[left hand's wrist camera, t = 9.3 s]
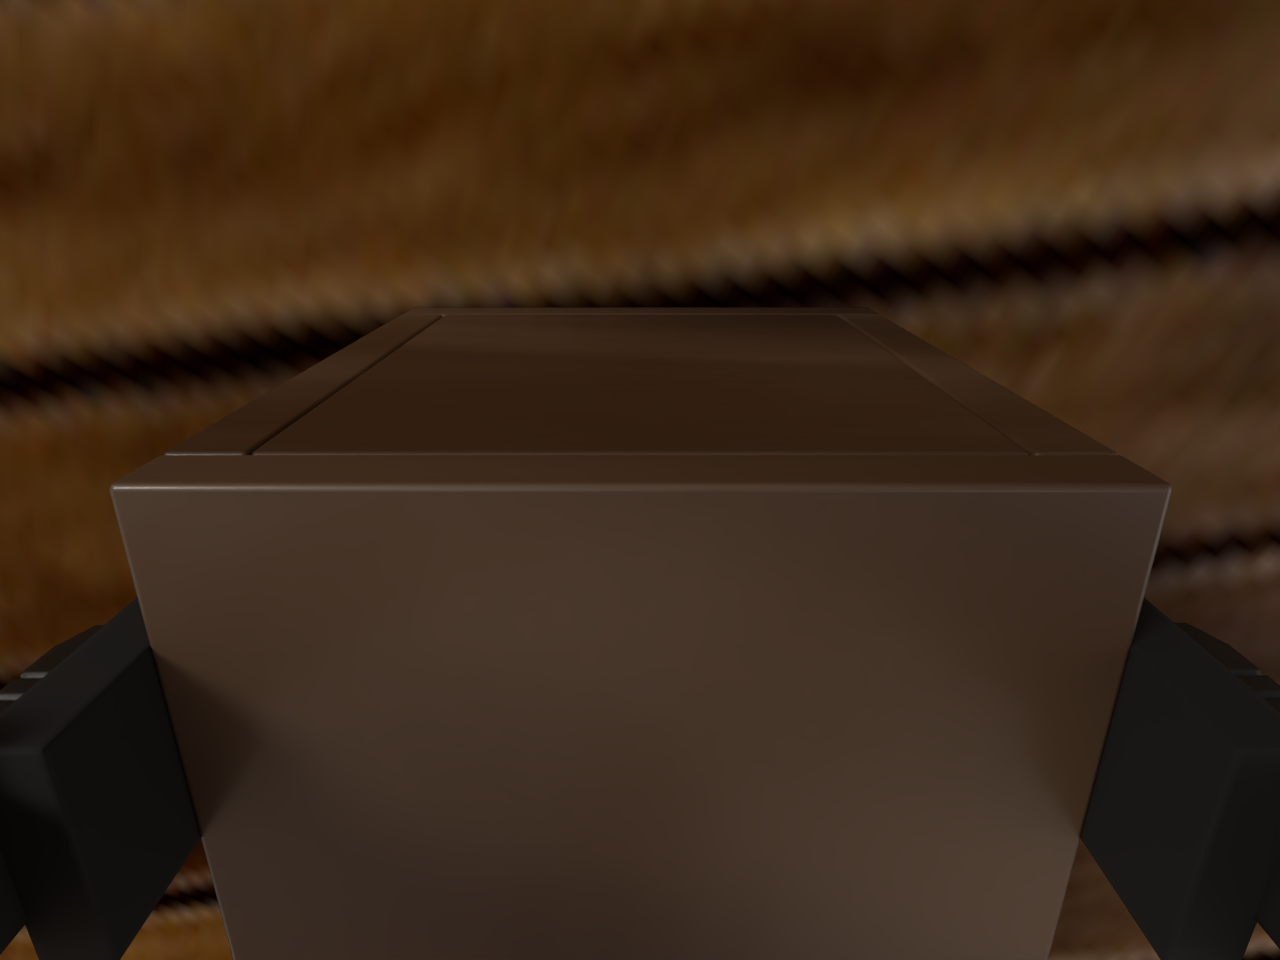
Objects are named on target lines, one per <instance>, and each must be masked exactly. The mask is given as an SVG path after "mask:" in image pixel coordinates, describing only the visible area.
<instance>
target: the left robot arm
mask: <svg viewBox="0 0 1280 960" xmlns="http://www.w3.org/2000/svg"><path fill="white" fill-rule="evenodd" d="M200 838H201V835H200V831H199V827H198V824H197V820H196V816H195V812H194V809H193V805H192V801H191V797H190V793H189V790H188V786H187V782H186V778H185V775H184V771H183V767H182V763H181V759H180V756H179V752H178V748H177V744H176V740H175V737H174V733H173V729H172V725H171V722H170V718H169V714H168V710H167V706H166V703H165V699H164V695H163V691H162V688H161V684H160V680H159V676H158V672H157V669H156V665H155V661H154V657H153V653H152V650H151V646H150V642H149V638H148V635H147V631H146V627H145V623H144V619H143V616H142V612H141V608H140V604H139V601H138V597H137V598H136V599H135V600H134V601H132V602H131V603H130V604H129V605H128V606H127V607H125V608H124V609H123V610H122V611H121V612H119V613H118V614H117V615H116V616H115V617H114V618H112V619H111V620H110V621H109V622H108V623H106V624H105V625H104V626H94V627H92V628H90V629H88V630H86V631H84V632H82V633H80V634H78V635H76V636H74V637H73V638H71V639H69V640H67V641H65V642H63V643H61V644H59V645H57V646H55V647H53V648H52V649H51V650H49V651H48V652H47V653H46V654H44V655H43V656H42V657H41V658H40V659H38V660H37V661H36V662H35V663H33V664H32V665H31V666H30V667H28V668H27V669H26V670H25V671H24V672H22V673H21V678H20V679H14V680H12V681H11V682H10V683H9V684H7V685H6V686H5V687H4V688H3V689H1V690H0V954H1V953H2V952H3V951H4V949H5V948H6V947H7V946H8V945H9V943H10V942H11V941H12V940H13V938H14V937H15V936H16V935H17V934H18V932H19V931H20V930H21V929H22V927H23V926H24V925H26V928H27V930H28V933H29V935H30V938H31V940H32V943H33V945H34V948H35V950H36V953H37V955H38V958H39V960H120V959H121V957H122V956H123V954H124V953H125V951H126V950H127V948H128V947H129V945H130V944H131V942H132V941H133V939H134V938H135V936H136V935H137V933H138V932H139V930H140V929H141V927H142V926H143V924H144V923H145V921H146V920H147V918H148V916H149V915H150V913H151V912H152V910H153V909H154V907H155V906H156V904H157V903H158V901H159V900H160V898H161V897H162V895H163V894H164V892H165V891H166V889H167V888H168V886H169V885H170V883H171V882H172V880H173V879H174V877H175V876H176V874H177V872H178V871H179V869H180V868H181V866H182V865H183V863H184V862H185V860H186V859H187V857H188V856H189V854H190V853H191V851H192V850H193V848H194V847H195V845H196V844H197V842H198V841H199V839H200ZM1080 838H1081V839H1082V841H1083V842H1084V844H1085V845H1086V847H1087V848H1088V850H1089V851H1090V853H1091V854H1092V856H1093V858H1094V859H1095V861H1096V862H1097V864H1098V865H1099V867H1100V868H1101V870H1102V871H1103V873H1104V874H1105V876H1106V877H1107V879H1108V880H1109V882H1110V883H1111V885H1112V886H1113V888H1114V889H1115V891H1116V892H1117V894H1118V895H1119V897H1120V898H1121V900H1122V901H1123V903H1124V905H1125V906H1126V908H1127V909H1128V911H1129V912H1130V914H1131V915H1132V917H1133V918H1134V920H1135V921H1136V923H1137V924H1138V926H1139V927H1140V929H1141V930H1142V932H1143V933H1144V935H1145V936H1146V938H1147V939H1148V941H1149V942H1150V944H1151V945H1152V947H1153V948H1154V950H1155V952H1156V953H1157V955H1158V956H1159V958H1160V959H1161V960H1242V958H1243V956H1244V953H1245V951H1246V948H1247V946H1248V943H1249V941H1250V938H1251V936H1252V933H1253V931H1254V928H1255V926H1256V923H1257V922H1258V923H1259V924H1260V926H1261V927H1262V928H1263V929H1264V930H1265V932H1266V933H1267V934H1268V935H1269V937H1270V938H1271V939H1272V940H1273V941H1274V943H1275V944H1276V945H1277V946H1278V947H1279V949H1280V686H1279V685H1278V684H1277V683H1276V682H1274V681H1273V680H1272V679H1271V678H1269V677H1268V676H1262V675H1261V670H1260V669H1258V668H1257V667H1256V666H1255V665H1253V664H1252V663H1251V662H1250V661H1248V660H1247V659H1246V658H1245V657H1243V656H1242V655H1241V654H1240V653H1238V652H1237V651H1236V650H1235V649H1233V648H1232V647H1231V646H1230V645H1228V644H1226V643H1224V642H1222V641H1220V640H1218V639H1216V638H1215V637H1213V636H1211V635H1209V634H1207V633H1205V632H1203V631H1201V630H1199V629H1197V628H1195V627H1193V626H1191V625H1189V624H1187V623H1173V622H1172V621H1171V620H1170V619H1169V618H1167V617H1166V616H1165V615H1164V614H1163V613H1162V612H1160V611H1159V610H1158V609H1157V608H1156V607H1154V606H1153V605H1152V604H1151V603H1150V602H1149V601H1147V600H1146V599H1145V598H1144V599H1143V603H1142V606H1141V610H1140V614H1139V618H1138V622H1137V625H1136V629H1135V633H1134V637H1133V640H1132V644H1131V648H1130V652H1129V656H1128V659H1127V663H1126V667H1125V671H1124V674H1123V678H1122V682H1121V686H1120V690H1119V693H1118V697H1117V701H1116V705H1115V708H1114V712H1113V716H1112V720H1111V724H1110V727H1109V731H1108V735H1107V739H1106V742H1105V746H1104V750H1103V754H1102V758H1101V761H1100V765H1099V769H1098V773H1097V776H1096V780H1095V784H1094V788H1093V792H1092V795H1091V799H1090V803H1089V807H1088V810H1087V814H1086V818H1085V822H1084V826H1083V829H1082V833H1081V837H1080Z"/></svg>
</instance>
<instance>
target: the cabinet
mask: <svg viewBox="0 0 1280 960" xmlns="http://www.w3.org/2000/svg"><path fill="white" fill-rule="evenodd" d="M1171 493H1172V489H1171V485H1170V484H1169V483H1167V482H1166V481H1164V480H1162V479H1160V478H1159V477H1157V476H1155V475H1154V474H1152V473H1150V472H1148V471H1147V470H1145V469H1143V468H1142V467H1140V466H1138V465H1136V464H1135V463H1133V462H1131V461H1130V460H1128V459H1126V458H1124V457H1122V456H1120V455H1117V454H1116V452H1114V451H1113V450H1111V449H1109V448H1108V447H1106V446H1104V445H1102V444H1101V443H1099V442H1097V441H1096V440H1094V439H1092V438H1090V437H1089V436H1087V435H1085V434H1083V433H1082V432H1080V431H1078V430H1077V429H1075V428H1073V427H1071V426H1070V425H1068V424H1066V423H1065V422H1063V421H1061V420H1059V419H1058V418H1056V417H1054V416H1053V415H1051V414H1049V413H1047V412H1046V411H1044V410H1042V409H1041V408H1039V407H1037V406H1035V405H1034V404H1032V403H1030V402H1029V401H1027V400H1025V399H1023V398H1022V397H1020V396H1018V395H1017V394H1015V393H1013V392H1011V391H1010V390H1008V389H1006V388H1005V387H1003V386H1001V385H999V384H998V383H996V382H994V381H992V380H991V379H989V378H987V377H986V376H984V375H982V374H980V373H979V372H977V371H975V370H974V369H972V368H970V367H968V366H967V365H965V364H963V363H962V362H960V361H958V360H956V359H955V358H953V357H951V356H950V355H948V354H946V353H944V352H943V351H941V350H939V349H938V348H936V347H934V346H932V345H931V344H929V343H927V342H926V341H924V340H922V339H920V338H919V337H917V336H915V335H913V334H912V333H910V332H908V331H907V330H905V329H903V328H901V327H900V326H898V325H896V324H895V323H893V322H891V321H889V320H888V319H886V318H884V317H883V316H881V315H879V314H878V313H876V312H874V311H873V310H871V309H869V308H412V309H411V310H409V311H407V312H405V313H404V314H402V315H400V316H398V317H397V318H395V319H393V320H392V321H390V322H388V323H386V324H385V325H383V326H381V327H380V328H378V329H376V330H374V331H373V332H371V333H369V334H367V335H366V336H364V337H362V338H361V339H359V340H357V341H355V342H354V343H352V344H350V345H349V346H347V347H345V348H343V349H342V350H340V351H338V352H337V353H335V354H333V355H331V356H330V357H328V358H326V359H324V360H323V361H321V362H319V363H318V364H316V365H314V366H312V367H311V368H309V369H307V370H306V371H304V372H302V373H300V374H299V375H297V376H295V377H293V378H292V379H290V380H288V381H287V382H285V383H283V384H281V385H280V386H278V387H276V388H275V389H273V390H271V391H269V392H268V393H266V394H264V395H263V396H261V397H259V398H257V399H256V400H254V401H252V402H250V403H249V404H247V405H245V406H244V407H242V408H240V409H238V410H237V411H235V412H233V413H232V414H230V415H228V416H226V417H225V418H223V419H221V420H219V421H218V422H216V423H214V424H213V425H211V426H209V427H207V428H206V429H204V430H202V431H201V432H199V433H197V434H195V435H194V436H192V437H190V438H189V439H187V440H185V441H183V442H182V443H180V444H178V445H176V446H175V447H173V448H171V449H170V450H168V451H166V452H165V453H164V455H161V456H159V457H157V458H155V459H153V460H152V461H150V462H148V463H147V464H145V465H143V466H141V467H140V468H138V469H136V470H135V471H133V472H131V473H129V474H128V475H126V476H124V477H123V478H121V479H119V480H117V481H116V482H114V483H112V485H111V486H110V495H111V498H112V502H113V506H114V510H115V514H116V517H117V521H118V525H119V529H120V532H121V536H122V540H123V544H124V548H125V551H126V555H127V559H128V563H129V566H130V570H131V574H132V578H133V582H134V585H135V589H136V593H137V597H138V601H139V604H140V608H141V612H142V616H143V619H144V623H145V627H146V631H147V635H148V638H149V642H150V646H151V650H152V653H153V657H154V661H155V665H156V669H157V672H158V676H159V680H160V684H161V688H162V691H163V695H164V699H165V703H166V706H167V710H168V714H169V718H170V722H171V725H172V729H173V733H174V737H175V740H176V744H177V748H178V752H179V756H180V759H181V763H182V767H183V771H184V775H185V778H186V782H187V786H188V790H189V793H190V797H191V801H192V805H193V809H194V812H195V816H196V820H197V824H198V827H199V831H200V835H201V839H202V843H203V846H204V850H205V854H206V858H207V862H208V865H209V869H210V873H211V877H212V880H213V884H214V888H215V892H216V896H217V899H218V903H219V907H220V911H221V914H222V918H223V922H224V926H225V930H226V933H227V937H228V941H229V945H230V948H231V952H232V956H233V960H1048V958H1049V954H1050V950H1051V946H1052V943H1053V939H1054V935H1055V931H1056V928H1057V924H1058V920H1059V916H1060V912H1061V909H1062V905H1063V901H1064V897H1065V894H1066V890H1067V886H1068V882H1069V878H1070V875H1071V871H1072V867H1073V863H1074V860H1075V856H1076V852H1077V848H1078V844H1079V841H1080V837H1081V833H1082V829H1083V826H1084V822H1085V818H1086V814H1087V810H1088V807H1089V803H1090V799H1091V795H1092V792H1093V788H1094V784H1095V780H1096V776H1097V773H1098V769H1099V765H1100V761H1101V758H1102V754H1103V750H1104V746H1105V742H1106V739H1107V735H1108V731H1109V727H1110V724H1111V720H1112V716H1113V712H1114V708H1115V705H1116V701H1117V697H1118V693H1119V690H1120V686H1121V682H1122V678H1123V674H1124V671H1125V667H1126V663H1127V659H1128V656H1129V652H1130V648H1131V644H1132V640H1133V637H1134V633H1135V629H1136V625H1137V622H1138V618H1139V614H1140V610H1141V606H1142V603H1143V599H1144V595H1145V591H1146V588H1147V584H1148V580H1149V576H1150V572H1151V569H1152V565H1153V561H1154V557H1155V554H1156V550H1157V546H1158V542H1159V538H1160V535H1161V531H1162V527H1163V523H1164V520H1165V516H1166V512H1167V508H1168V504H1169V501H1170V497H1171Z"/></svg>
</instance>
